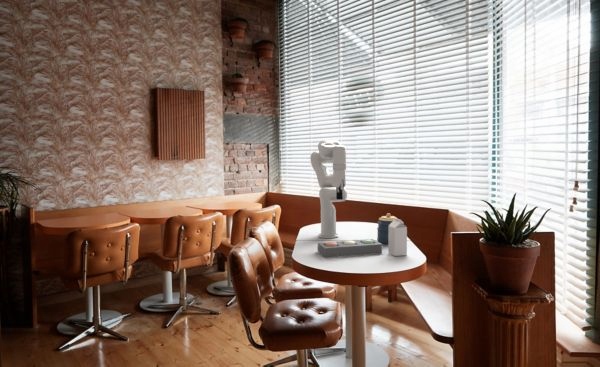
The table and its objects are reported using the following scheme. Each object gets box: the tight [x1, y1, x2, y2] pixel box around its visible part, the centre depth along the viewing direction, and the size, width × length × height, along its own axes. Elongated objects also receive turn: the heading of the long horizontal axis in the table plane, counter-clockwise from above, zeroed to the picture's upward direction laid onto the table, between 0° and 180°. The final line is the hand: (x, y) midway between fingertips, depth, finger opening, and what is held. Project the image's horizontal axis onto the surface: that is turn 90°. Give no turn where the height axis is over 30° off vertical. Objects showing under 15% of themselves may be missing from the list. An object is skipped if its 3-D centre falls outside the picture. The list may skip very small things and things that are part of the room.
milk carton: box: [387, 217, 408, 257], centre depth 223 cm, size 7×7×19 cm
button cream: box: [343, 240, 355, 245], centre depth 228 cm, size 6×6×3 cm
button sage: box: [361, 238, 374, 244], centre depth 230 cm, size 6×6×3 cm
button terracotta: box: [325, 241, 337, 247], centre depth 226 cm, size 6×6×3 cm
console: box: [317, 238, 383, 259], centre depth 228 cm, size 13×32×5 cm, turn 103°
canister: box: [376, 212, 397, 246], centre depth 249 cm, size 13×13×18 cm
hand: (339, 199), depth 242 cm, fingers closed
